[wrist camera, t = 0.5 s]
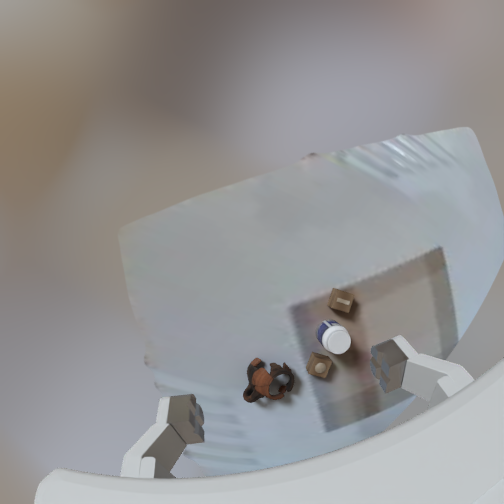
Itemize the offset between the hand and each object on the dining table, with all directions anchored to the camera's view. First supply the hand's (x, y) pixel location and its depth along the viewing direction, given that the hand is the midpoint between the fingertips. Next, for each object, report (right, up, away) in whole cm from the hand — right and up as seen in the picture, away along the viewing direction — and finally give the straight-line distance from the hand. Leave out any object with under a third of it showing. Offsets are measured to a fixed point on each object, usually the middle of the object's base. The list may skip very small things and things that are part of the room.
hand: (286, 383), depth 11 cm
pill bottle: (+15, -12, +48) cm, 52 cm away
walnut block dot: (+13, -19, +48) cm, 53 cm away
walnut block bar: (+18, -5, +48) cm, 52 cm away
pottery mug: (+2, -23, +48) cm, 53 cm away
